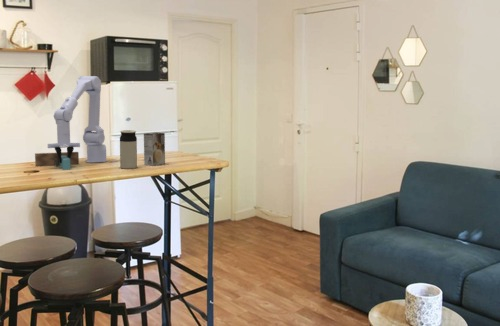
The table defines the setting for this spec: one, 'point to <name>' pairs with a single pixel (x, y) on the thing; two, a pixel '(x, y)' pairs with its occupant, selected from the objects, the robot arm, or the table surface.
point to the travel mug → (128, 149)
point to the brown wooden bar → (54, 159)
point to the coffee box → (154, 149)
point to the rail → (65, 163)
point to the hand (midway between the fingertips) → (64, 162)
